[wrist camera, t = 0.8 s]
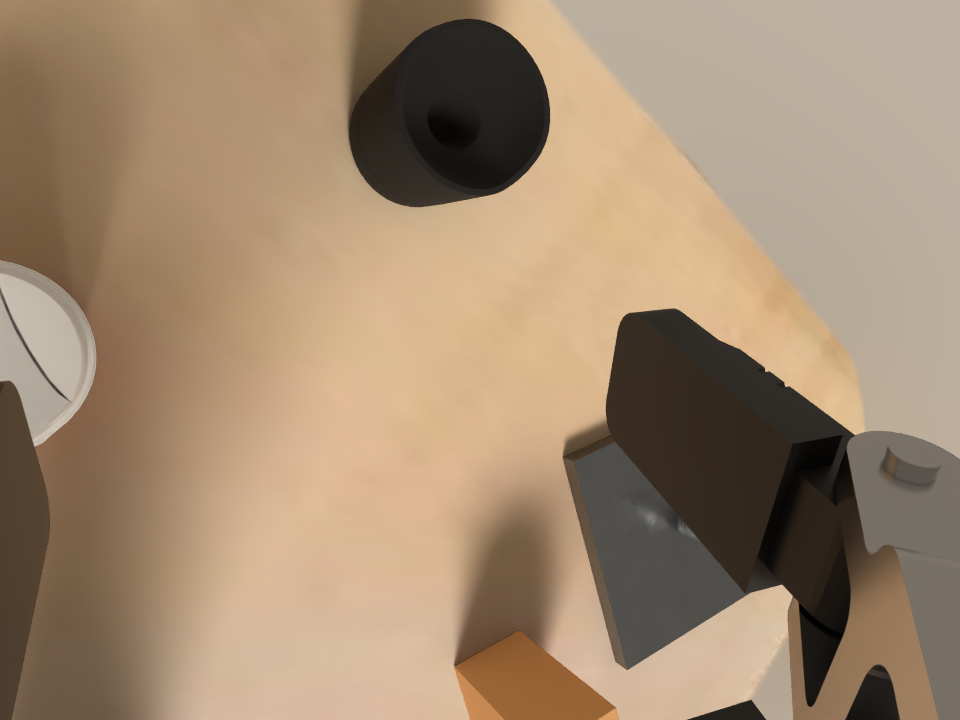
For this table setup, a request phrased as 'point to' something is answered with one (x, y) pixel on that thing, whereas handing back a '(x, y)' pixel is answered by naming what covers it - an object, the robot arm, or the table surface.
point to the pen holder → (451, 117)
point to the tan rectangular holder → (526, 685)
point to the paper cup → (44, 348)
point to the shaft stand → (642, 556)
